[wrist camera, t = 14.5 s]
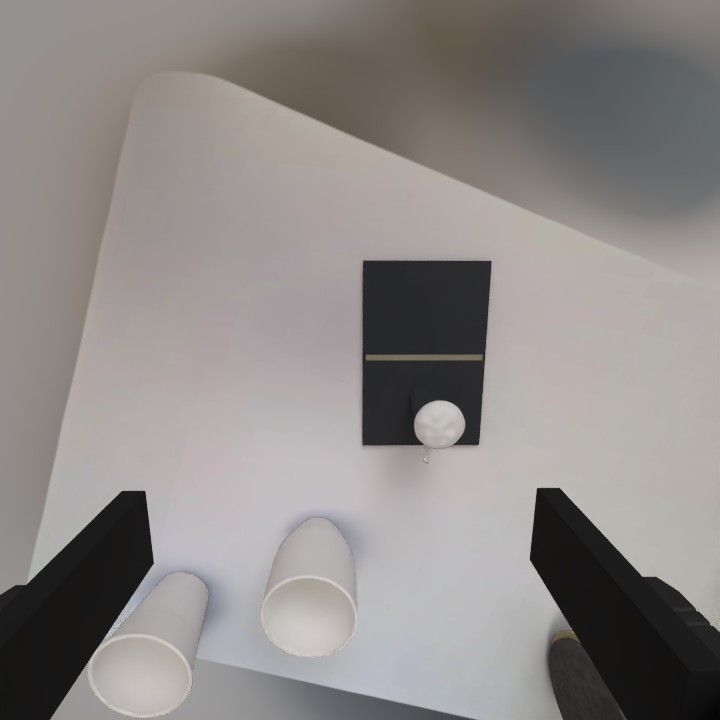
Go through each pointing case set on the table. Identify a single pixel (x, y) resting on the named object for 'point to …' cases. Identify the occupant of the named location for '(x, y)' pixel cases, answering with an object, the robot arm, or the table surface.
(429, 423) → the milkshake
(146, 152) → the table surface
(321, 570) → the mug
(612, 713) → the desk lamp
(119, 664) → the cup
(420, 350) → the desk mat
